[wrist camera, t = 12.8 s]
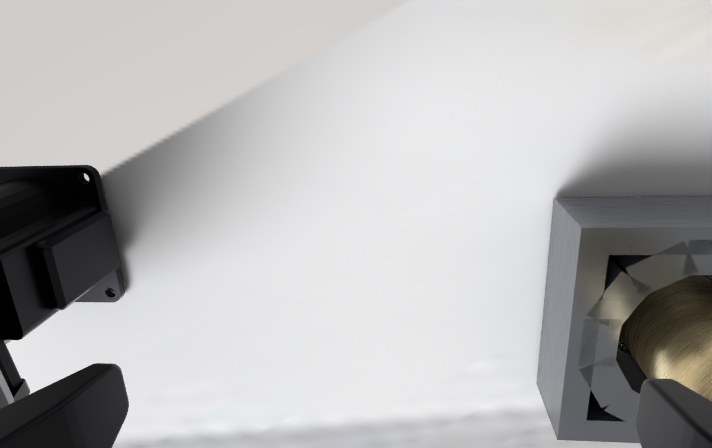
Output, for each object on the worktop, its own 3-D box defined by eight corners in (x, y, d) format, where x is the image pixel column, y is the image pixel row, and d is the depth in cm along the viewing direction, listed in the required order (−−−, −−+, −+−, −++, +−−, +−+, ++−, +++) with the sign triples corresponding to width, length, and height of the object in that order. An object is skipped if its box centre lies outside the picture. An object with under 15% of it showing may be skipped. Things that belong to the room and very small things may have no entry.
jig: (536, 384, 23) (557, 439, 20) (553, 197, 20) (581, 227, 17) (746, 389, 22) (804, 449, 19) (797, 194, 19) (876, 225, 16)
